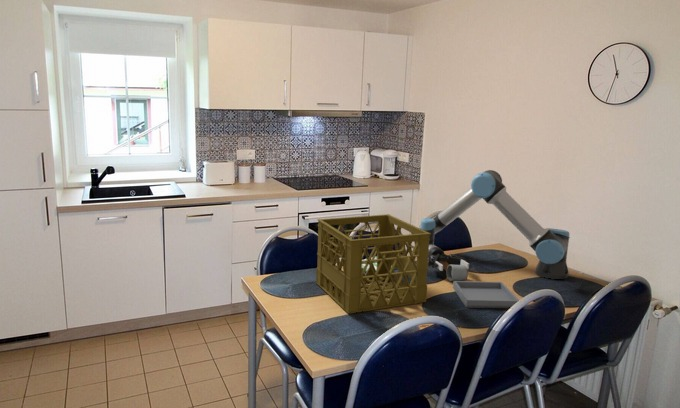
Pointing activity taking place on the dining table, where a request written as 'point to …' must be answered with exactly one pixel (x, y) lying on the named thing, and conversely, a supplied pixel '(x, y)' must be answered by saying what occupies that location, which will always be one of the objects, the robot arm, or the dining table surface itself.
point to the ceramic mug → (457, 272)
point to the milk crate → (352, 262)
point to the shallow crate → (484, 294)
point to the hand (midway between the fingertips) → (455, 267)
